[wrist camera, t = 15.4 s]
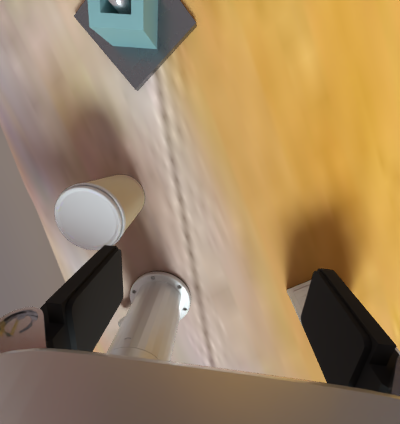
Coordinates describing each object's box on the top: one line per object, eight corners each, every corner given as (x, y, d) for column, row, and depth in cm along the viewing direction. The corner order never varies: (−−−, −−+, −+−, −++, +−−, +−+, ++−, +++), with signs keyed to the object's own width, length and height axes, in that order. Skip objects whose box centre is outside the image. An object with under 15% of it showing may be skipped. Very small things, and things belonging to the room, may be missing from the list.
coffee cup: (93, 171, 39) (42, 186, 28) (145, 168, 38) (114, 182, 27) (104, 221, 42) (62, 253, 31) (153, 219, 41) (128, 251, 30)
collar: (157, 49, 31) (143, 30, 26) (112, 45, 32) (89, 26, 26) (158, -10, 29) (143, -44, 23) (110, -12, 29) (84, -47, 24)
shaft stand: (137, 90, 34) (118, 80, 27) (78, 19, 32) (41, -11, 25) (196, 26, 31) (190, -4, 24) (135, -59, 28) (109, -118, 22)
